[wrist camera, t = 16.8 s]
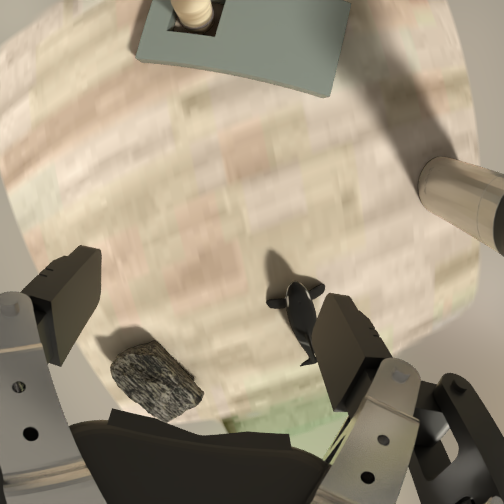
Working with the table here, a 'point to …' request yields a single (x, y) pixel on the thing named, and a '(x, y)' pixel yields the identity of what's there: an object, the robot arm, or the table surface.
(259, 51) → the board
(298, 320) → the toy
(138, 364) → the rock
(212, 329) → the table surface
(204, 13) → the peg
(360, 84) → the table surface
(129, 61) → the table surface
